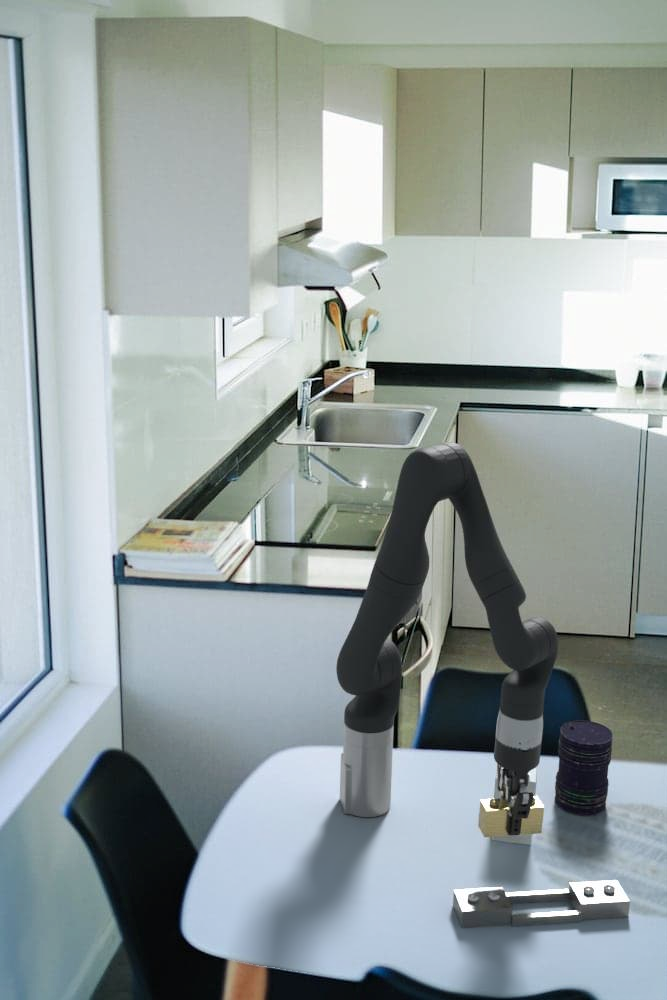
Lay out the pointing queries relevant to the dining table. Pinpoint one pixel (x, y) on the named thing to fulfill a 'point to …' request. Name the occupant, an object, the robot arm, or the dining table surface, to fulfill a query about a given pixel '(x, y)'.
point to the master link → (496, 817)
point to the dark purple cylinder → (583, 768)
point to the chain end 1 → (493, 907)
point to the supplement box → (531, 788)
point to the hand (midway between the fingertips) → (509, 826)
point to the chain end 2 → (587, 901)
